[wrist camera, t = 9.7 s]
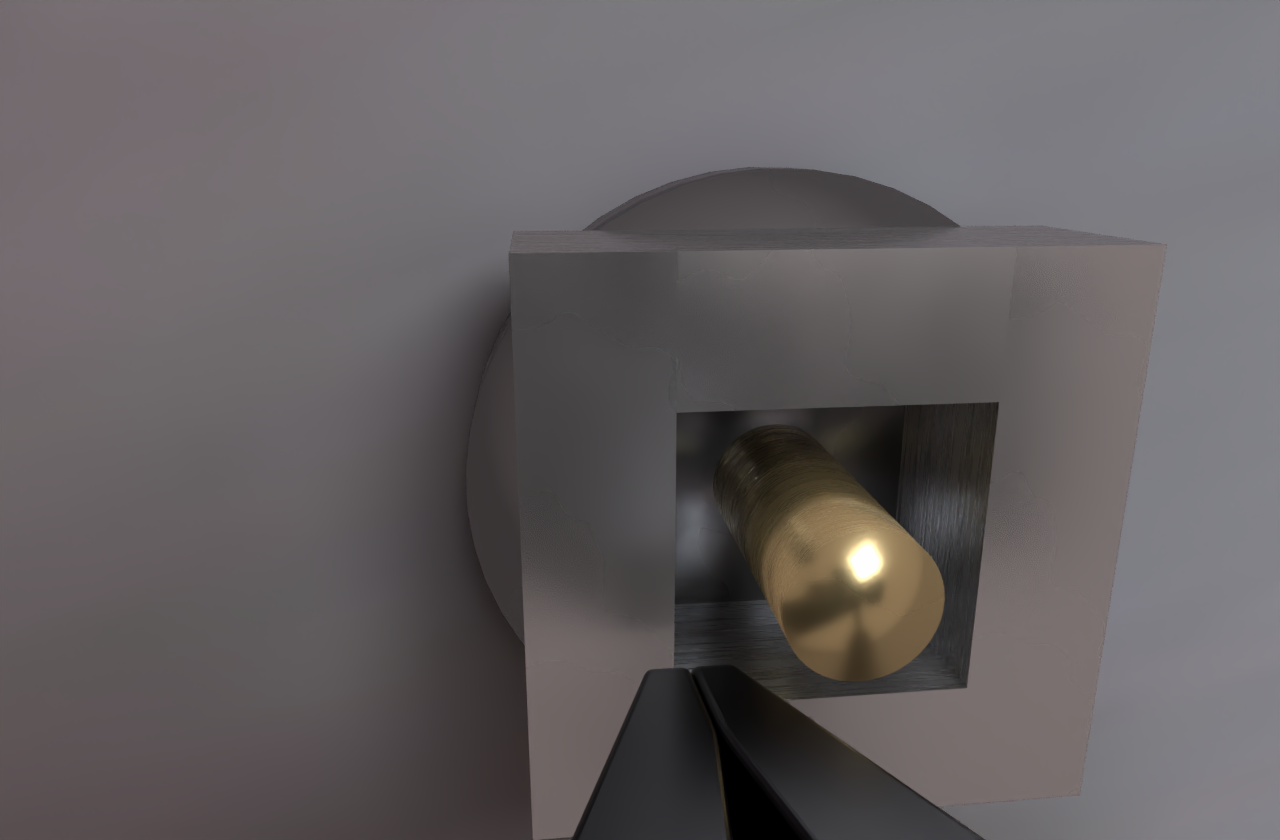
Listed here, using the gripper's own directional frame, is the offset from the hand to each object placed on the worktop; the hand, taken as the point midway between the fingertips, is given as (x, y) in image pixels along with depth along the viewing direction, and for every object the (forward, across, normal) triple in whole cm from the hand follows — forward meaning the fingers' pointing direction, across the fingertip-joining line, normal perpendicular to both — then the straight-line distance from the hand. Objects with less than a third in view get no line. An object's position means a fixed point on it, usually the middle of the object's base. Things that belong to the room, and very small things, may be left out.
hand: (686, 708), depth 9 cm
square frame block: (+4, -2, -1) cm, 4 cm away
